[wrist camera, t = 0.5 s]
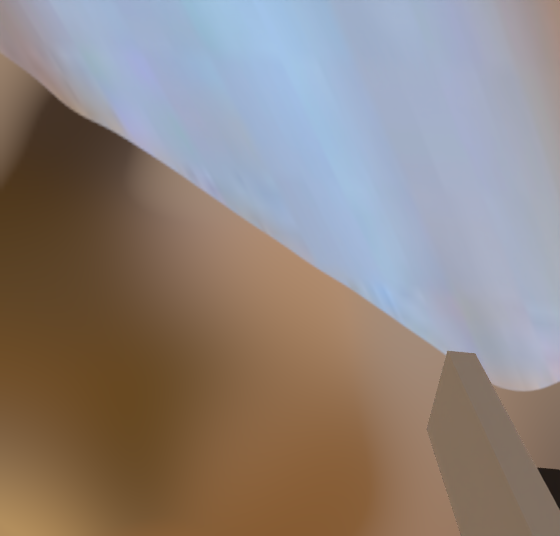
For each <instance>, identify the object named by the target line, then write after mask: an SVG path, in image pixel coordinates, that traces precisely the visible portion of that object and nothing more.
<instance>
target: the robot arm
mask: <svg viewBox="0 0 560 536" xmlns="http://www.w3.org/2000/svg"><path fill="white" fill-rule="evenodd" d="M427 432H428V435H429V438H430V441H431V444H432V447H433V451H434V454H435V457H436V460H437V463H438V466H439V469H440V472H441V475H442V479H443V482H444V485H445V488H446V491H447V494H448V497H449V500H450V503H451V506H452V509H453V513H454V516H455V519H456V522H457V525H458V528H459V531H460V534H461V536H560V470H557V469H546V468H537V467H536V465H535V463H534V462H533V460H532V458H531V456H530V454H529V452H528V450H527V449H526V447H525V445H524V443H523V441H522V439H521V437H520V436H519V434H518V432H517V430H516V428H515V426H514V424H513V423H512V421H511V419H510V417H509V415H508V414H507V412H506V410H505V408H504V406H503V404H502V402H501V400H500V399H499V397H498V395H497V393H496V391H495V389H494V387H493V386H492V384H491V382H490V380H489V378H488V376H487V375H486V373H485V371H484V369H483V367H482V365H481V363H480V362H479V360H478V358H477V356H476V354H475V353H465V352H454V351H447V355H446V358H445V362H444V366H443V369H442V373H441V377H440V381H439V384H438V388H437V392H436V396H435V399H434V403H433V407H432V411H431V414H430V418H429V422H428V426H427Z"/></svg>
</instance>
